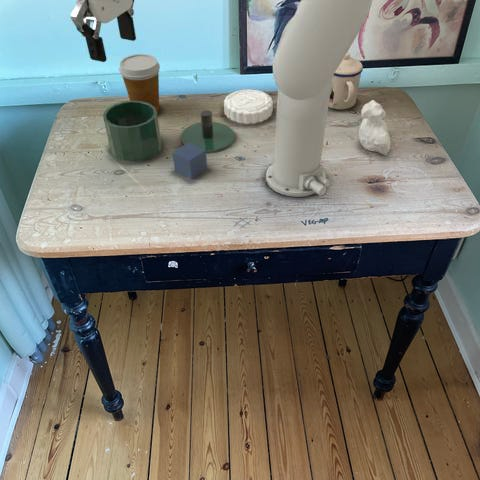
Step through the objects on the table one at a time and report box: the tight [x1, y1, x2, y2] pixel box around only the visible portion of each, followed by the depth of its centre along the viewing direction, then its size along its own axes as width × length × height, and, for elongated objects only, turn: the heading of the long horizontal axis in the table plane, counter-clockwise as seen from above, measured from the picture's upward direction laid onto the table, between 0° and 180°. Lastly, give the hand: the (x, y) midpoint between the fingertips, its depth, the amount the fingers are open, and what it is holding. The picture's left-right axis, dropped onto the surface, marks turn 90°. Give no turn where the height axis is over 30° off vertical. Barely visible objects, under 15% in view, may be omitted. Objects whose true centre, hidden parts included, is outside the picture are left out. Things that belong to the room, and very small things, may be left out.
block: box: [172, 142, 208, 180], centre depth 104 cm, size 5×5×5 cm
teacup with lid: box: [328, 52, 364, 110], centre depth 120 cm, size 12×9×12 cm
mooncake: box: [223, 88, 274, 125], centre depth 120 cm, size 12×12×4 cm
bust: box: [358, 99, 391, 156], centre depth 108 cm, size 12×8×11 cm
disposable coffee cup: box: [118, 53, 161, 113], centre depth 118 cm, size 10×10×12 cm
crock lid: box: [180, 109, 236, 154], centre depth 112 cm, size 12×12×7 cm
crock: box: [102, 100, 163, 163], centre depth 109 cm, size 11×11×8 cm
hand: (114, 49), depth 91 cm, fingers open, 9 cm apart
